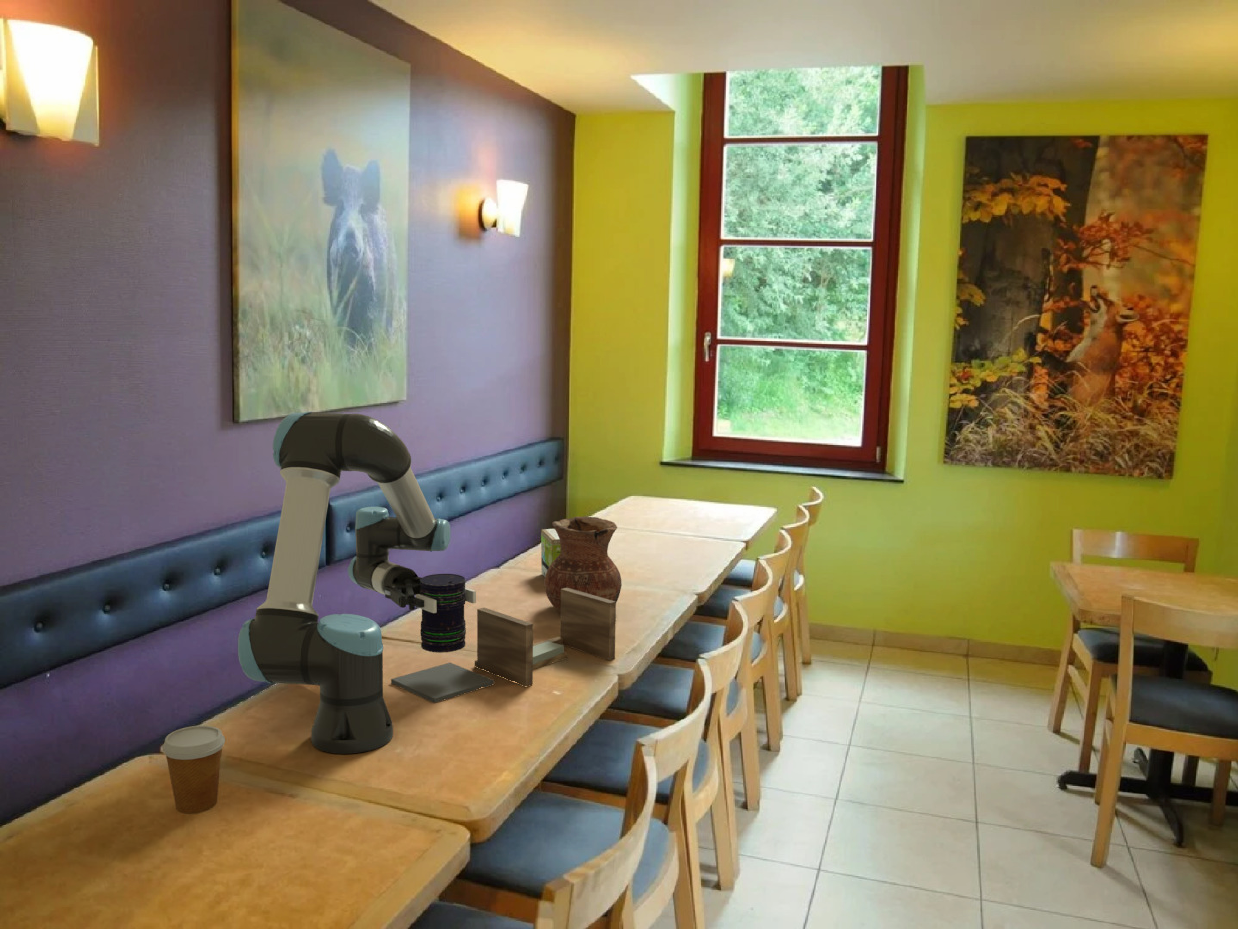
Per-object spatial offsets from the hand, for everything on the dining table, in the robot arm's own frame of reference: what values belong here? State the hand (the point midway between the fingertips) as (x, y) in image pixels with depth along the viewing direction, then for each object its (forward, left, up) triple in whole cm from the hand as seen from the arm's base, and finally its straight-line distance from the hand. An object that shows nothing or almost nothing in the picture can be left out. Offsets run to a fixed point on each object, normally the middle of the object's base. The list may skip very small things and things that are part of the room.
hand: (455, 602), depth 223 cm
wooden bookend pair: (+25, -1, -19) cm, 32 cm away
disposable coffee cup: (-64, -14, -20) cm, 68 cm away
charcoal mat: (-1, +4, -19) cm, 20 cm away
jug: (+61, +24, -20) cm, 69 cm away
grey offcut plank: (+25, +1, -18) cm, 31 cm away
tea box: (+80, +53, -20) cm, 98 cm away
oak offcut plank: (+25, +1, -20) cm, 32 cm away
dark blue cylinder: (0, +4, -11) cm, 12 cm away
